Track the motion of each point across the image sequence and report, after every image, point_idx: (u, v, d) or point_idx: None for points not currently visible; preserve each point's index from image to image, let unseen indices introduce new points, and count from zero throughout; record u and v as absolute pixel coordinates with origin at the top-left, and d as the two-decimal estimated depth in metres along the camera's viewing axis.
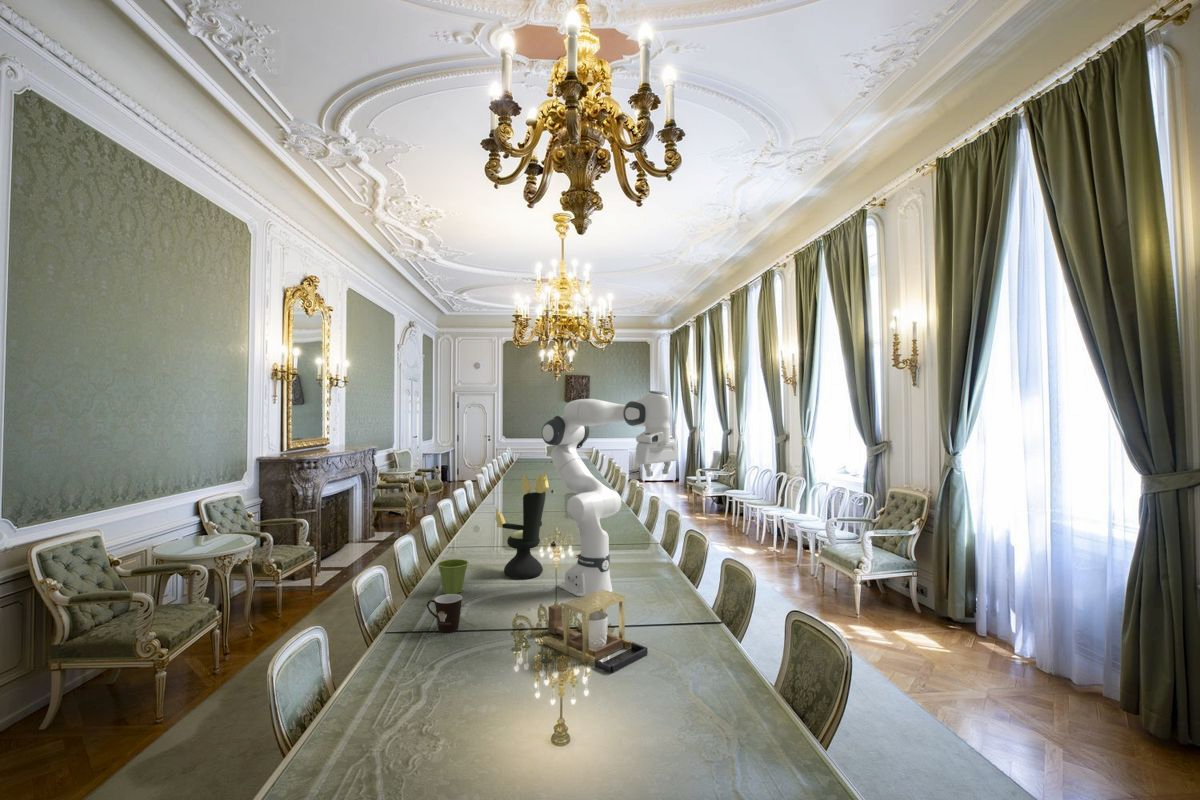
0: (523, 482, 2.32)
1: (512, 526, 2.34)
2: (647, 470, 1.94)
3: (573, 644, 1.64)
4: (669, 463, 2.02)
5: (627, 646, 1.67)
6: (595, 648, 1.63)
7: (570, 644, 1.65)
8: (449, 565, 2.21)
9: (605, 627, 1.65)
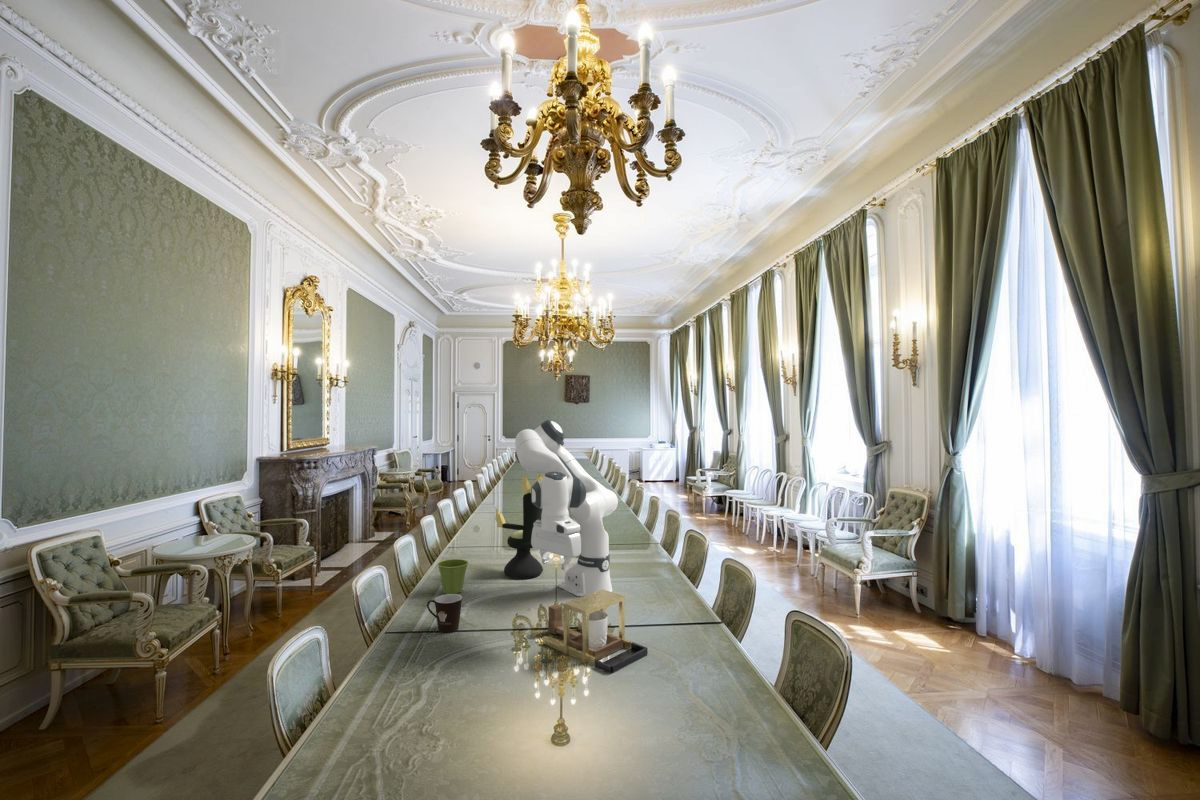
0: (523, 482, 2.32)
1: (512, 526, 2.34)
2: (567, 563, 1.75)
3: (573, 644, 1.64)
4: None
5: (627, 646, 1.67)
6: (595, 648, 1.63)
7: (570, 644, 1.65)
8: (449, 565, 2.21)
9: (605, 627, 1.65)
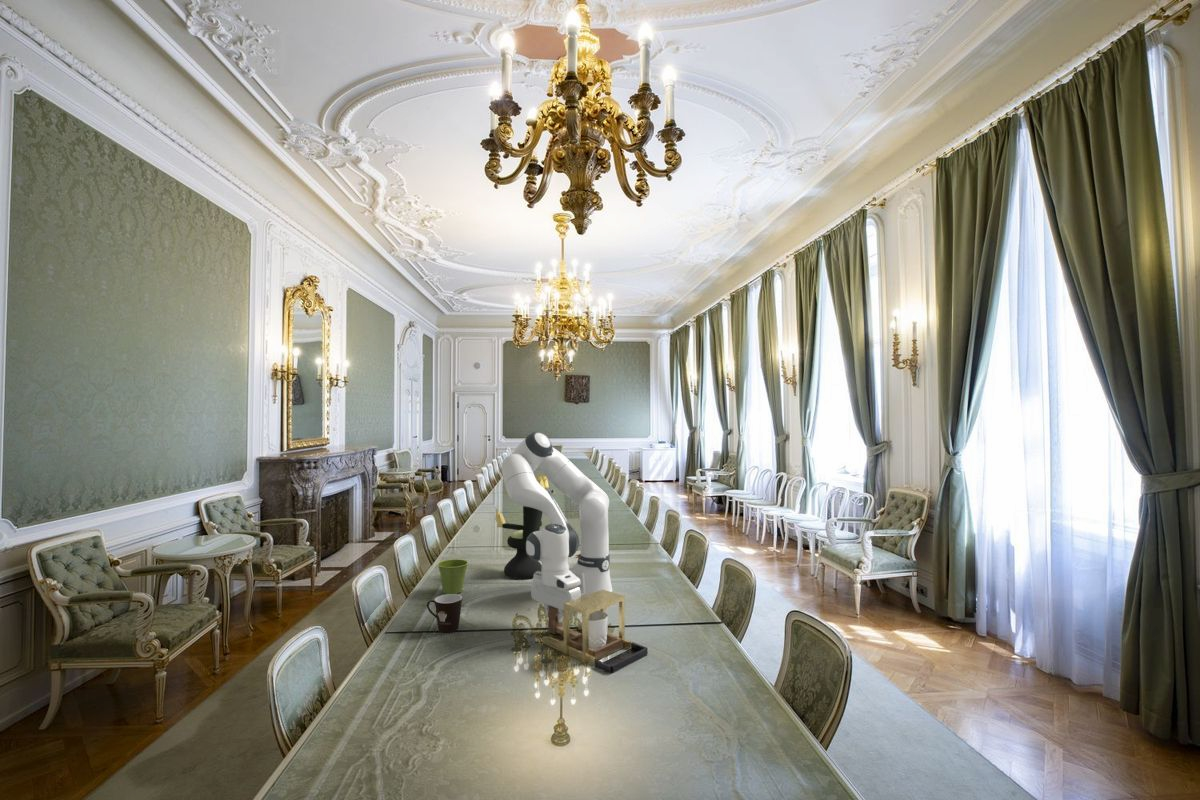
0: None
1: (512, 526, 2.34)
2: (561, 615, 1.76)
3: (573, 644, 1.64)
4: None
5: (627, 646, 1.67)
6: (595, 648, 1.63)
7: (570, 644, 1.65)
8: (449, 565, 2.21)
9: (605, 627, 1.65)
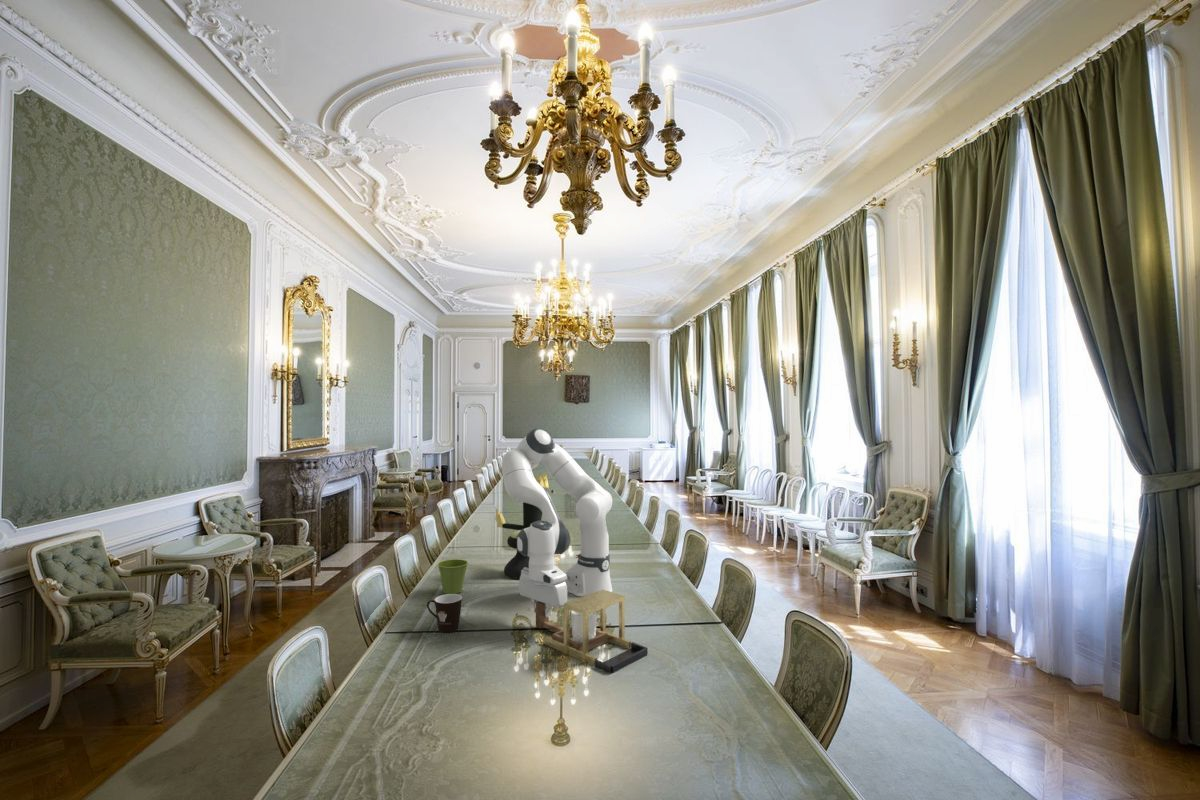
0: None
1: (512, 526, 2.34)
2: (549, 610, 1.81)
3: (559, 638, 1.69)
4: None
5: (627, 646, 1.67)
6: None
7: (556, 638, 1.69)
8: (449, 565, 2.21)
9: (594, 623, 1.68)
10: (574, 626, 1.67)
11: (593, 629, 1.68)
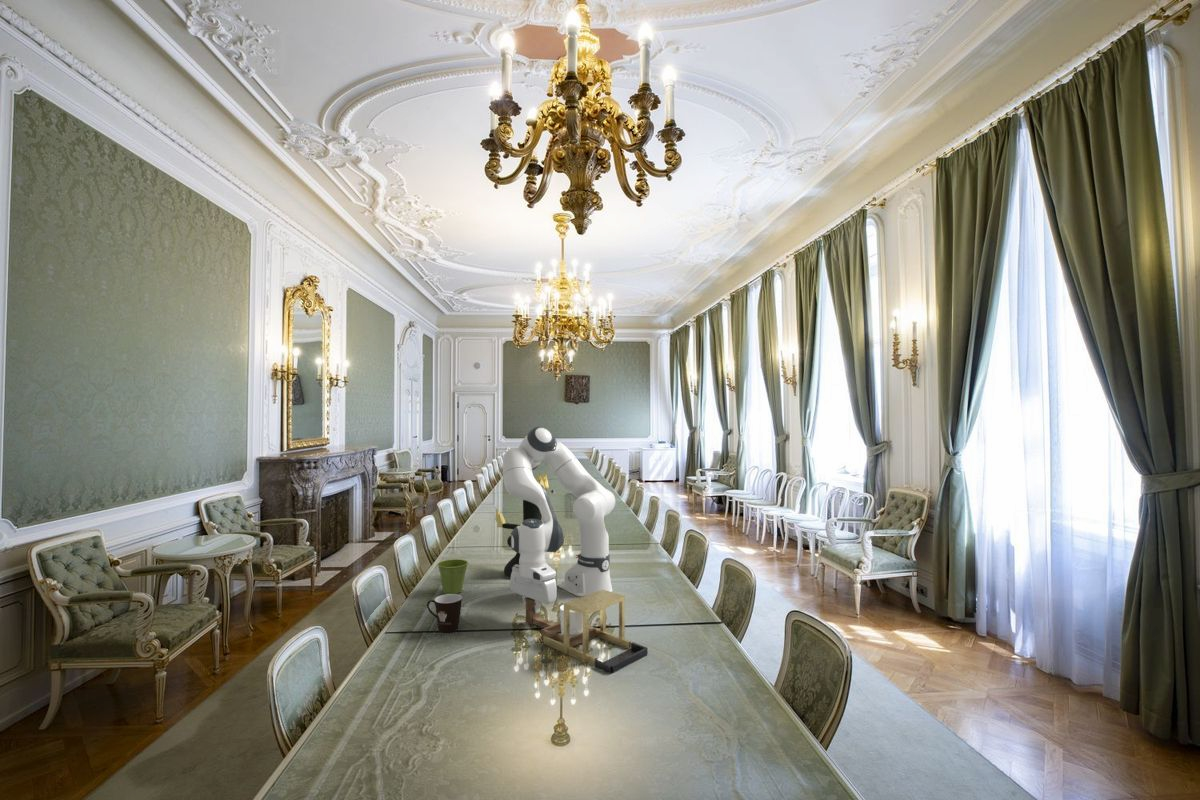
0: None
1: (512, 526, 2.34)
2: (538, 606, 1.84)
3: (547, 633, 1.72)
4: None
5: (627, 646, 1.67)
6: None
7: (545, 633, 1.73)
8: (449, 565, 2.21)
9: (582, 618, 1.71)
10: (562, 621, 1.71)
11: (581, 624, 1.71)
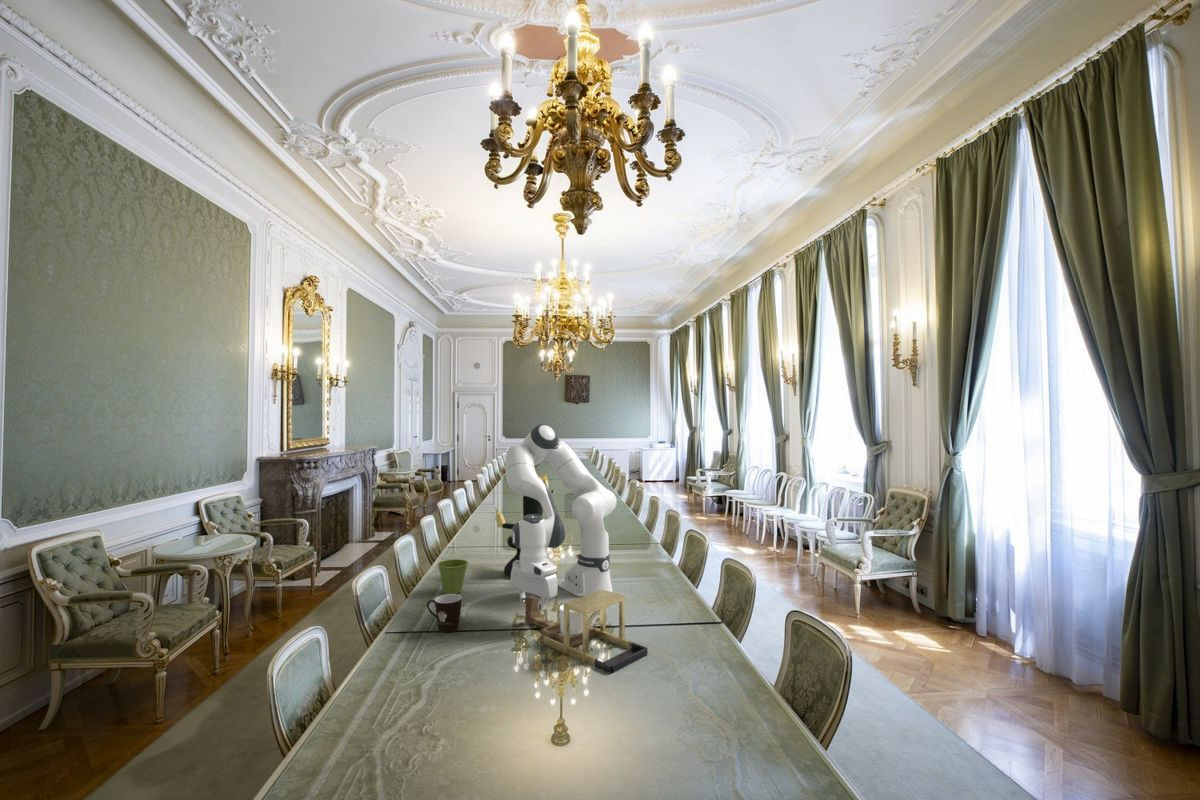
0: None
1: (512, 526, 2.34)
2: (544, 603, 1.82)
3: (547, 633, 1.72)
4: None
5: (627, 646, 1.67)
6: None
7: (544, 633, 1.73)
8: (449, 565, 2.21)
9: (581, 618, 1.71)
10: (562, 621, 1.71)
11: (581, 624, 1.71)
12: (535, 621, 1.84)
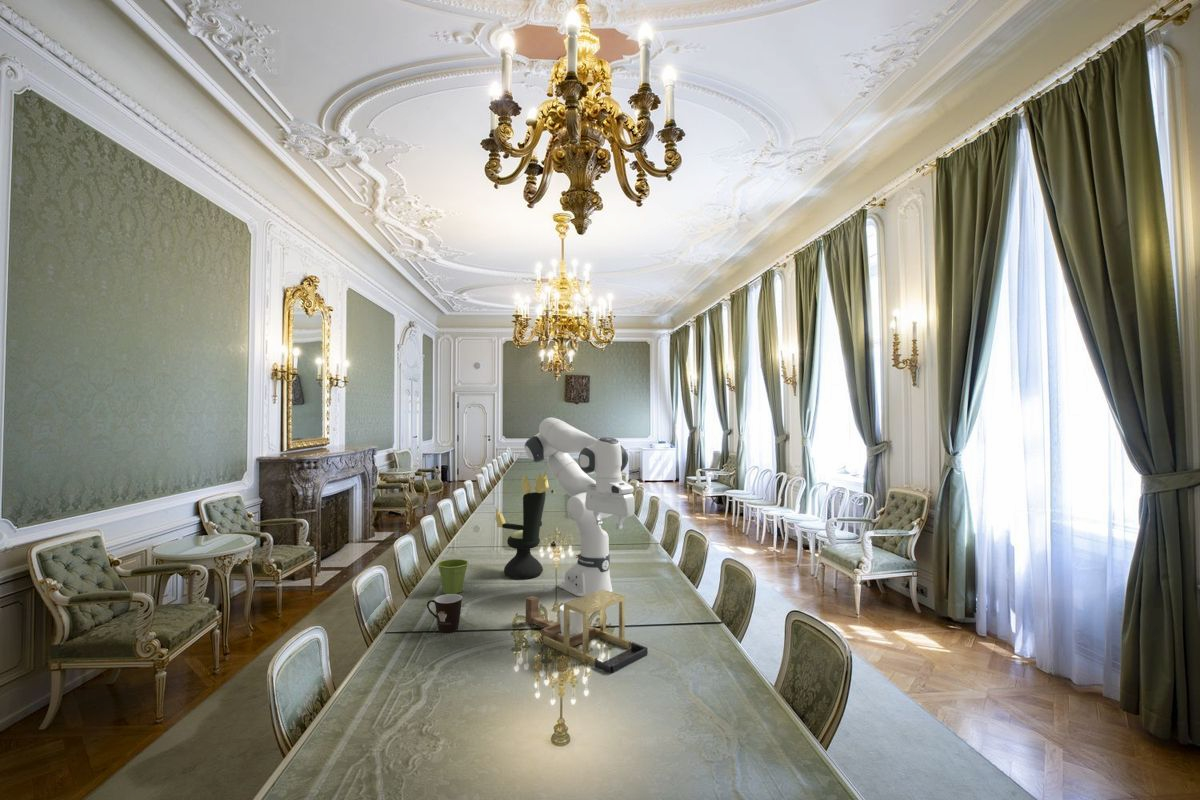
0: (523, 482, 2.32)
1: (512, 526, 2.34)
2: (621, 522, 1.85)
3: (547, 633, 1.72)
4: None
5: (627, 646, 1.67)
6: None
7: (544, 633, 1.73)
8: (449, 565, 2.21)
9: (582, 618, 1.71)
10: (562, 622, 1.71)
11: (581, 624, 1.71)
12: (535, 621, 1.83)
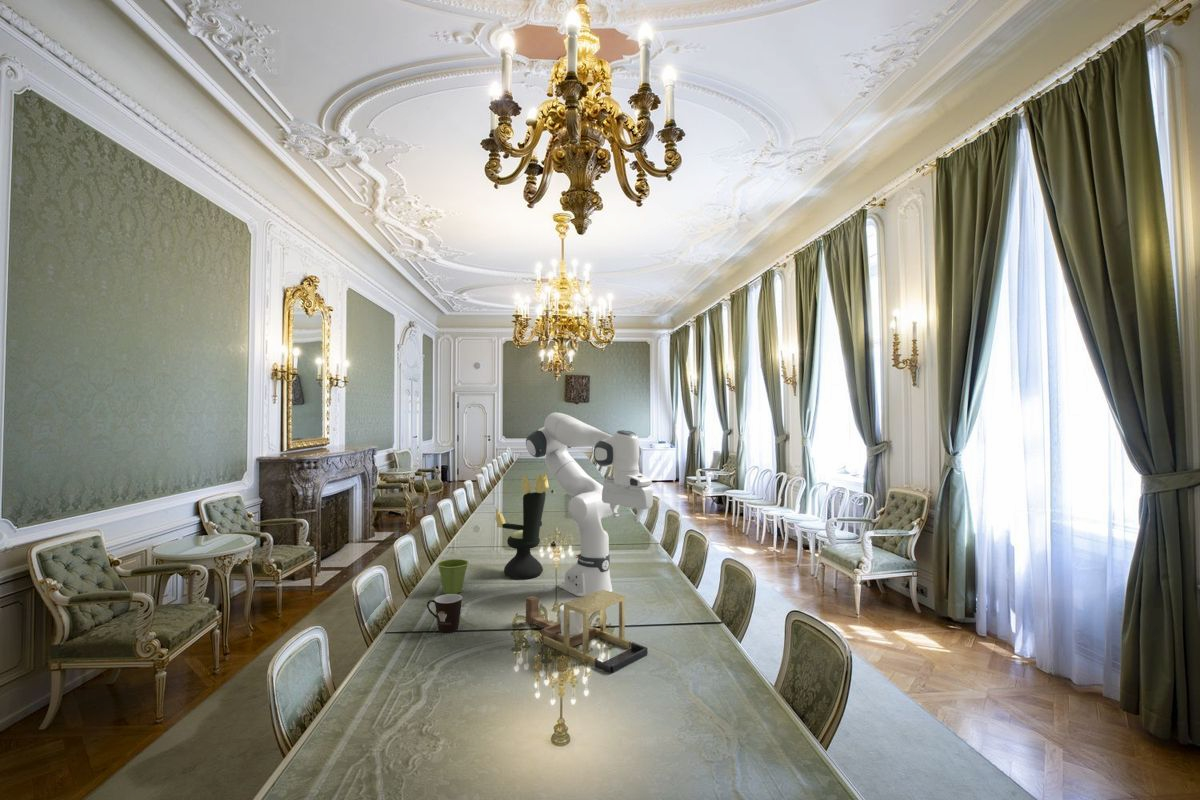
0: (523, 482, 2.32)
1: (512, 526, 2.34)
2: (639, 514, 1.86)
3: (547, 633, 1.72)
4: None
5: (627, 646, 1.67)
6: None
7: (545, 633, 1.73)
8: (449, 565, 2.21)
9: (582, 618, 1.71)
10: (562, 622, 1.71)
11: (581, 625, 1.71)
12: (535, 621, 1.83)
